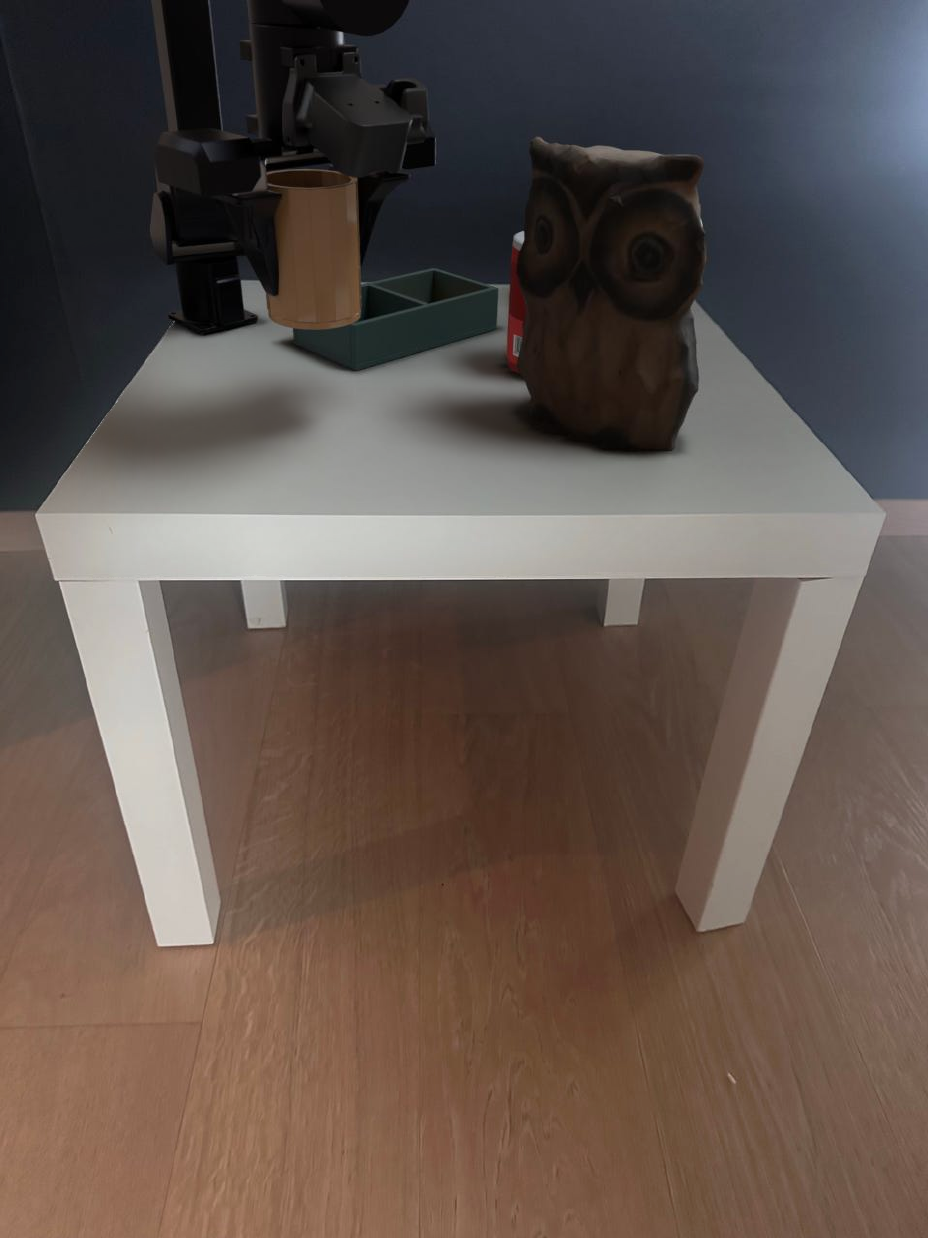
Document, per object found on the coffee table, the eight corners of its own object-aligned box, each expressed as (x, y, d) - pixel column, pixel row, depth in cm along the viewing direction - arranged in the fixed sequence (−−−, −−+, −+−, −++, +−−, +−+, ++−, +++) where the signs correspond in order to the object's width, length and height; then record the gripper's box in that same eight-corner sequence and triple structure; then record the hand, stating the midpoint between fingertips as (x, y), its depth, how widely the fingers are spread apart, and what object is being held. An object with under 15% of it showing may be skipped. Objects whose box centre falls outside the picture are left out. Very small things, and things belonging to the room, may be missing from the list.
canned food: (598, 384, 80) (614, 251, 73) (506, 381, 80) (514, 248, 73) (589, 353, 86) (603, 228, 80) (504, 350, 86) (511, 225, 80)
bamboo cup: (250, 312, 66) (236, 175, 61) (324, 295, 70) (317, 165, 65) (305, 336, 63) (295, 193, 57) (379, 317, 66) (377, 181, 61)
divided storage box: (293, 343, 86) (290, 300, 84) (433, 306, 96) (433, 267, 94) (355, 370, 81) (354, 325, 78) (496, 329, 91) (498, 287, 89)
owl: (691, 457, 68) (747, 160, 57) (523, 459, 67) (545, 157, 56) (648, 392, 79) (688, 129, 67) (502, 393, 77) (516, 126, 66)
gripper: (237, 37, 46) (266, 344, 55) (498, 30, 57) (486, 288, 66) (129, 22, 52) (171, 299, 62) (382, 18, 63) (386, 255, 72)
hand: (313, 285), depth 65 cm, fingers closed on bamboo cup, 6 cm apart
